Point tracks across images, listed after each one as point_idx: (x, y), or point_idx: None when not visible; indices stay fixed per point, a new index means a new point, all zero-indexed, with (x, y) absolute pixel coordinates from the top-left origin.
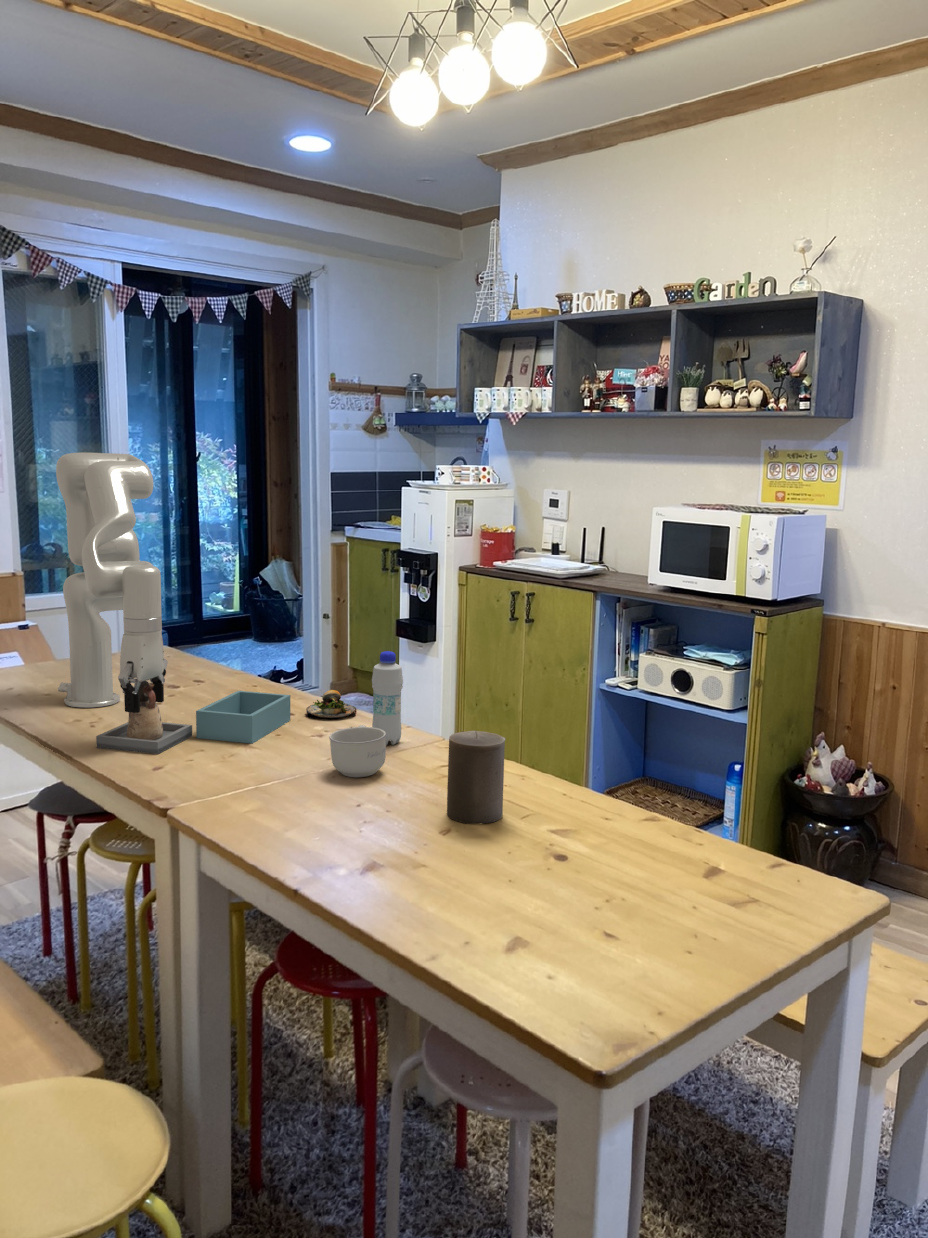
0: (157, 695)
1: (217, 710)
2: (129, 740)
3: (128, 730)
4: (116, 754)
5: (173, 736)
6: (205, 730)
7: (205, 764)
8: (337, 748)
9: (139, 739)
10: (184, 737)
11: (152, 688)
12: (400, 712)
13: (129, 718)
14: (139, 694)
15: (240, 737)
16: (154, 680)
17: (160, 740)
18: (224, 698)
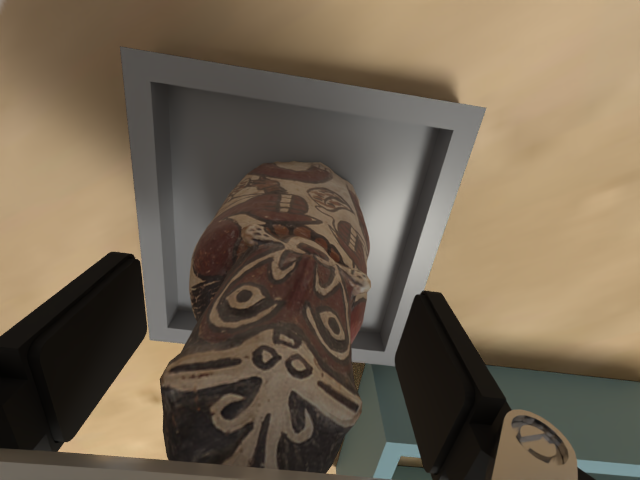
0: (410, 373)
1: None
2: (140, 233)
3: (231, 192)
4: (110, 184)
5: None
6: (365, 399)
7: (139, 431)
8: None
9: (156, 271)
10: None
11: (440, 386)
12: None
13: (212, 221)
14: (56, 448)
15: (342, 461)
16: (483, 471)
17: (174, 340)
18: (603, 469)
